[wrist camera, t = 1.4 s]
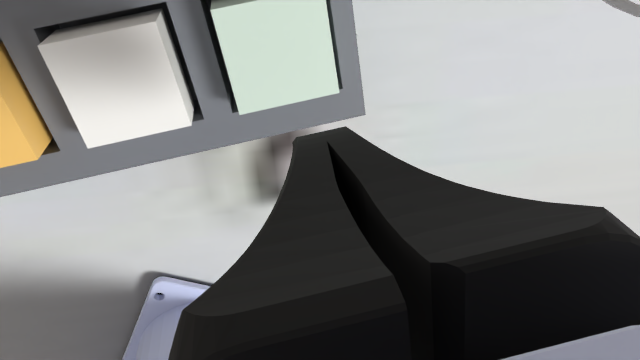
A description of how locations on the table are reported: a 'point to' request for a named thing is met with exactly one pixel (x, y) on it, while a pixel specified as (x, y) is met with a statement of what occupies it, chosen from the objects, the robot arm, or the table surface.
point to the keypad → (201, 75)
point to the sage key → (275, 51)
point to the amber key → (18, 118)
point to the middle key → (120, 77)
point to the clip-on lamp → (625, 6)
